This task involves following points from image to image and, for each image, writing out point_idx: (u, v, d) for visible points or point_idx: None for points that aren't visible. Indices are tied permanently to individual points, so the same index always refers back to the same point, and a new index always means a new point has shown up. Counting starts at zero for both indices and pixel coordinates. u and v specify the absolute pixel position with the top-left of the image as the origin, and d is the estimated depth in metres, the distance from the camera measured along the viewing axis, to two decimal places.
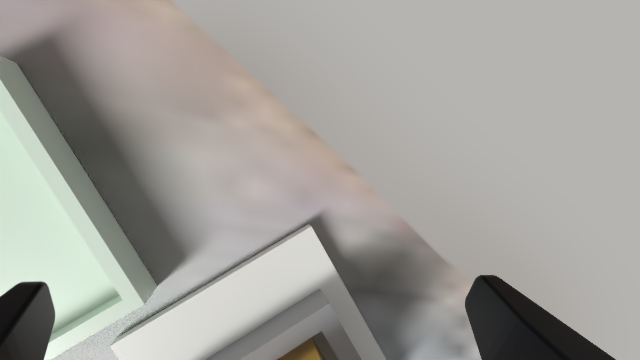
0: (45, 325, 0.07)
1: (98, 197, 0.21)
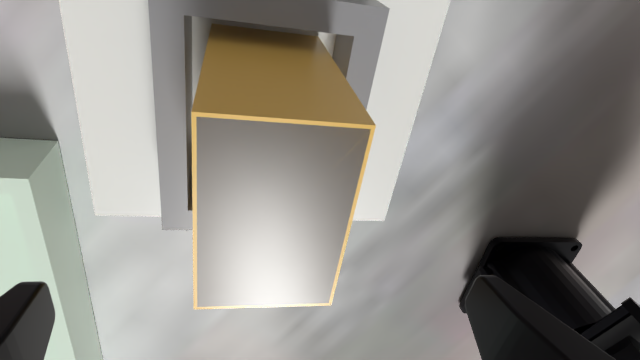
0: (45, 325, 0.07)
1: None
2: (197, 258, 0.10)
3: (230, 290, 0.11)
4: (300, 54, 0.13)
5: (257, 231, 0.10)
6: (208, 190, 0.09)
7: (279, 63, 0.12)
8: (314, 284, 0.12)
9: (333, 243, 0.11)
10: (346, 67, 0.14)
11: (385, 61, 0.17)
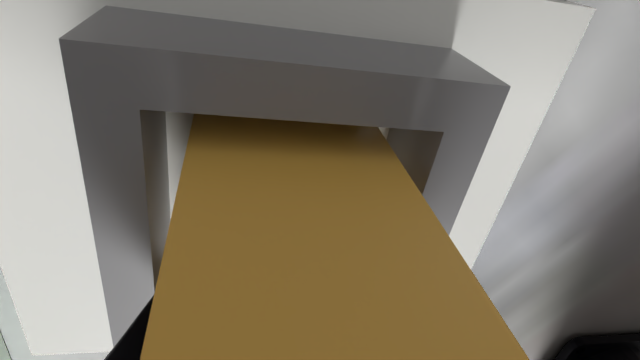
0: None
1: None
2: None
3: None
4: (351, 169, 0.07)
5: None
6: None
7: (321, 208, 0.06)
8: None
9: None
10: (422, 176, 0.09)
11: None
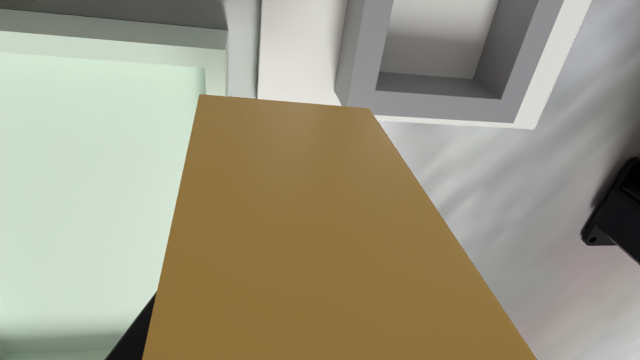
0: None
1: (76, 18, 0.15)
2: None
3: None
4: (354, 166, 0.07)
5: None
6: None
7: (324, 204, 0.06)
8: None
9: None
10: None
11: None
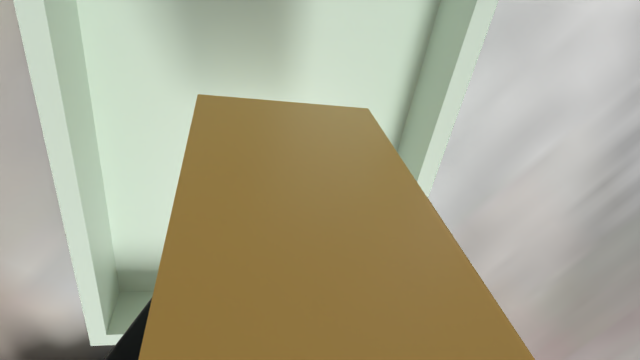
0: None
1: None
2: None
3: None
4: (353, 167, 0.07)
5: None
6: None
7: (322, 205, 0.06)
8: None
9: None
10: None
11: None
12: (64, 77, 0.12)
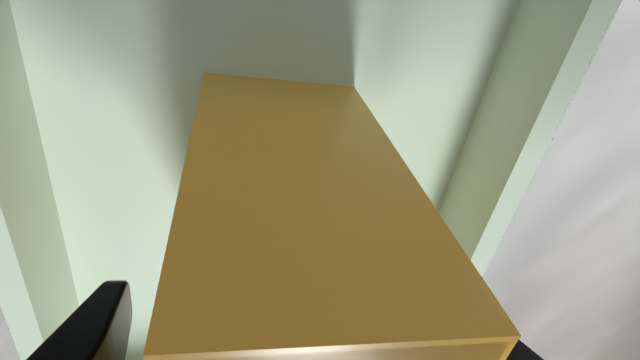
0: (127, 322, 0.08)
1: None
2: None
3: None
4: (337, 130, 0.09)
5: None
6: None
7: (309, 156, 0.07)
8: None
9: None
10: None
11: None
12: None
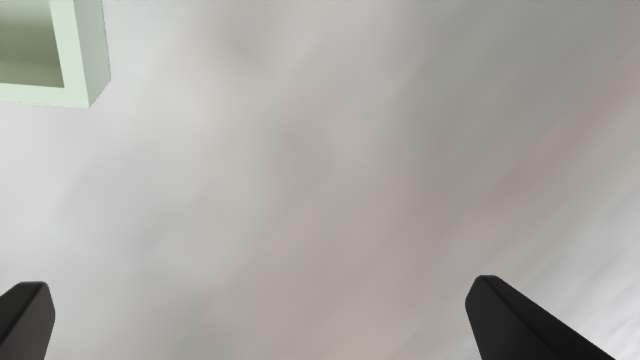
0: (45, 325, 0.07)
1: None
2: None
3: None
4: None
5: None
6: None
7: None
8: None
9: None
10: None
11: None
12: None
